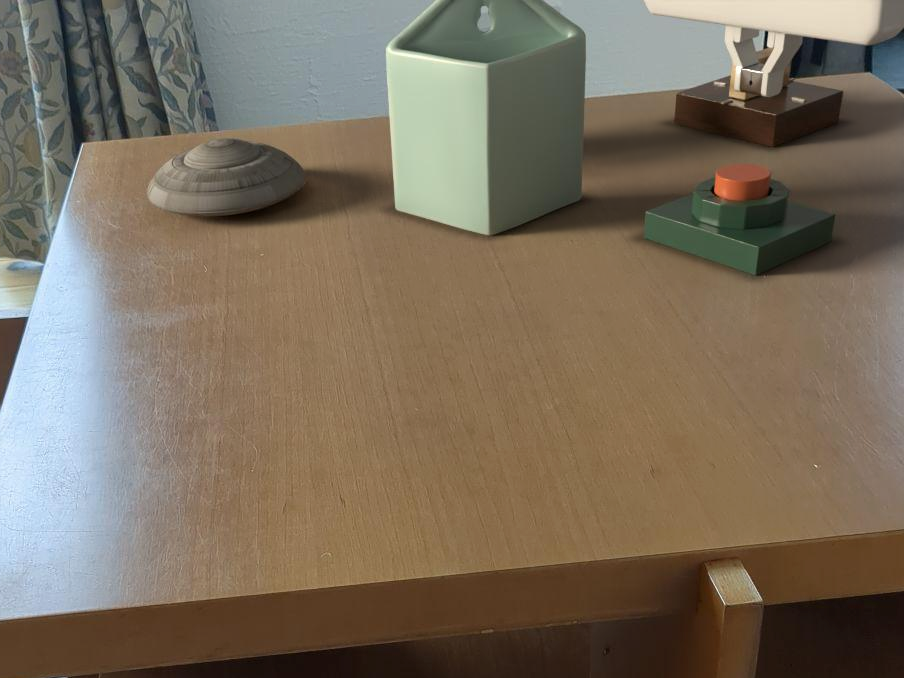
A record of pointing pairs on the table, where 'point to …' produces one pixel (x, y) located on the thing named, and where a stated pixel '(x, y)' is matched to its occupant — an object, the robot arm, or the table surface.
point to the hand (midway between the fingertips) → (757, 92)
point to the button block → (740, 227)
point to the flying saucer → (225, 179)
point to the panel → (759, 111)
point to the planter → (487, 113)
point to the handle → (762, 59)
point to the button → (742, 182)
